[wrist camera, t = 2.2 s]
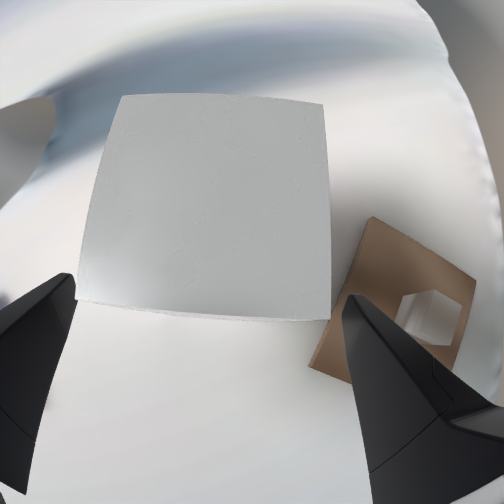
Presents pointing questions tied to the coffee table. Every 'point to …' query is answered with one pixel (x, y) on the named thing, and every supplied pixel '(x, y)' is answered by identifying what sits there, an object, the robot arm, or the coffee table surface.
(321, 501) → the coffee table surface
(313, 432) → the coffee table surface
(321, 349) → the post base
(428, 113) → the coffee table surface
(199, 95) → the white foam block
